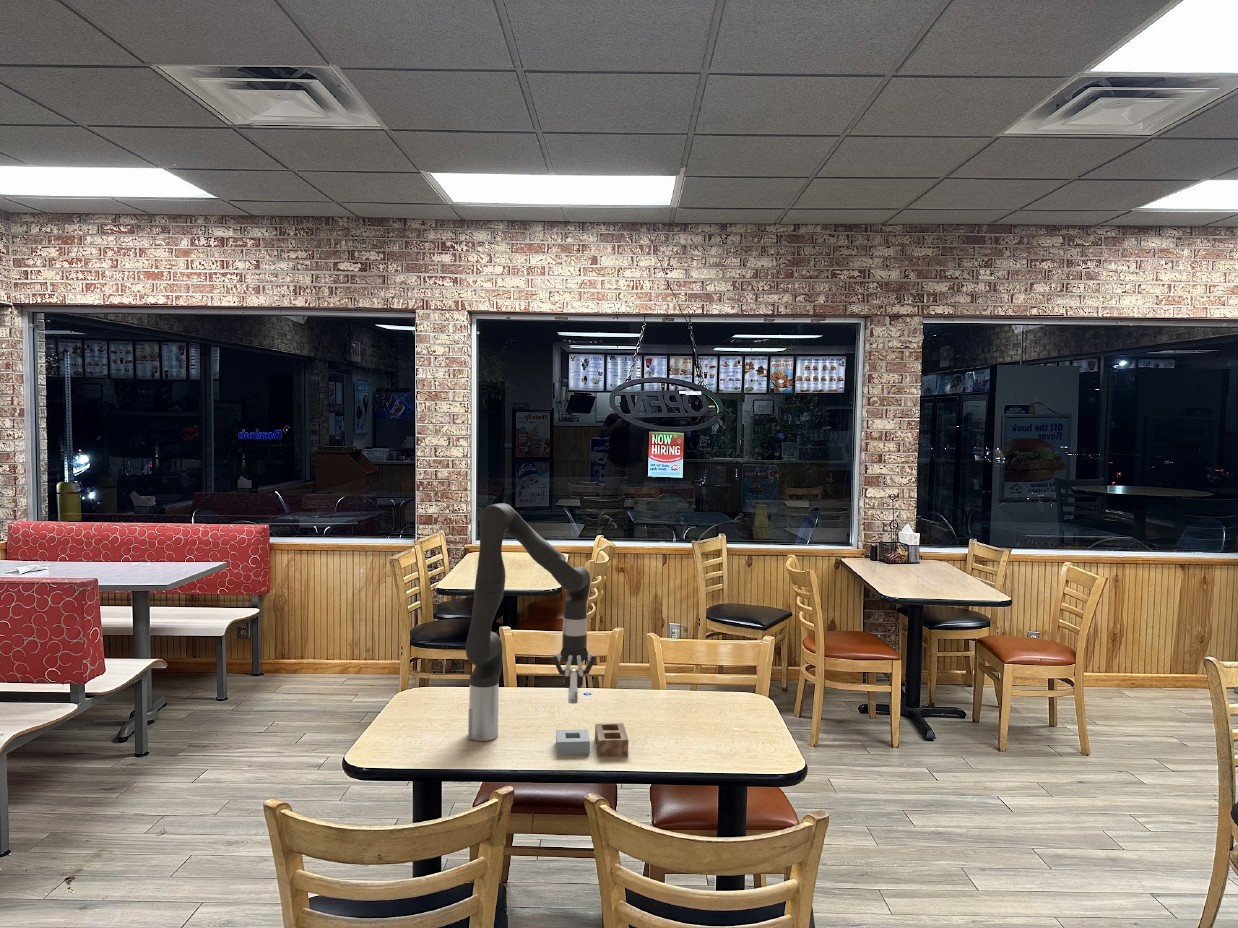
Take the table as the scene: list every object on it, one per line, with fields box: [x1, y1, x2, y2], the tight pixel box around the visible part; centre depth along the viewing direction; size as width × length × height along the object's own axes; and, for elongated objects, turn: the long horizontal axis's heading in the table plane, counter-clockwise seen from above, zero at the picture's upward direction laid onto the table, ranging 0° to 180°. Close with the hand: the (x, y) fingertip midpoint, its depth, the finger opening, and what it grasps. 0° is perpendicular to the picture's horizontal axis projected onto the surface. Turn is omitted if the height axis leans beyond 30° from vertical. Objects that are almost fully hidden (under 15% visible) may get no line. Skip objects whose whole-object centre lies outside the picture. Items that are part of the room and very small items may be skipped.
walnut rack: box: [594, 722, 629, 758], centre depth 244 cm, size 9×14×5 cm, turn 6°
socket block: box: [555, 728, 591, 756], centre depth 243 cm, size 10×10×4 cm
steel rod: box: [567, 668, 579, 705], centre depth 243 cm, size 3×3×10 cm
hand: (573, 686), depth 243 cm, fingers closed on steel rod, 3 cm apart
